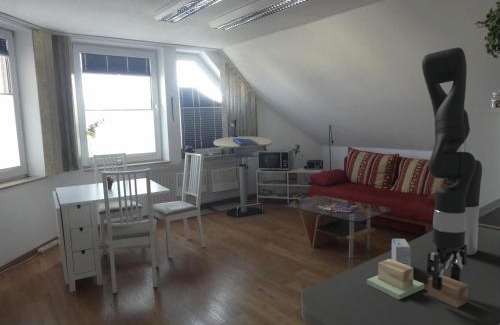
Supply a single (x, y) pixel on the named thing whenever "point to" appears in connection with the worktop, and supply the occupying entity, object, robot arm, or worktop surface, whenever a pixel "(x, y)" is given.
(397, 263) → the birch brick
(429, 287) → the walnut brick
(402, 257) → the medicine box
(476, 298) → the worktop surface
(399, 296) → the baseplate
